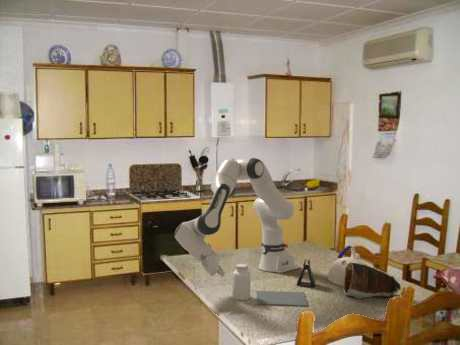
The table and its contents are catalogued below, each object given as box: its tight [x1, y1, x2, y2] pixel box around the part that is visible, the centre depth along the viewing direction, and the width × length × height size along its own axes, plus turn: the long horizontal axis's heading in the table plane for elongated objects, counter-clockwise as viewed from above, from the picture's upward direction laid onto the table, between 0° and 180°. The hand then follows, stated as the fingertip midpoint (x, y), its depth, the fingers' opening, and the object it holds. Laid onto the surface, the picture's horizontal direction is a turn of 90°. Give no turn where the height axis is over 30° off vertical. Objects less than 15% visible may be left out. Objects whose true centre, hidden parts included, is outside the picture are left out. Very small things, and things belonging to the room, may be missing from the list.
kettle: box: [327, 245, 364, 287], centre depth 236 cm, size 20×21×18 cm
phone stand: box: [296, 259, 316, 288], centre depth 228 cm, size 9×6×12 cm, turn 76°
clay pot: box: [342, 262, 402, 300], centre depth 214 cm, size 15×15×25 cm
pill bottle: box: [232, 263, 252, 301], centre depth 208 cm, size 8×8×15 cm
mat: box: [256, 290, 309, 307], centre depth 208 cm, size 22×16×1 cm
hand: (223, 274), depth 208 cm, fingers closed
